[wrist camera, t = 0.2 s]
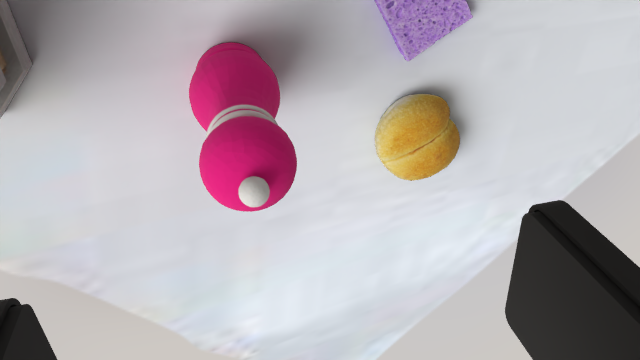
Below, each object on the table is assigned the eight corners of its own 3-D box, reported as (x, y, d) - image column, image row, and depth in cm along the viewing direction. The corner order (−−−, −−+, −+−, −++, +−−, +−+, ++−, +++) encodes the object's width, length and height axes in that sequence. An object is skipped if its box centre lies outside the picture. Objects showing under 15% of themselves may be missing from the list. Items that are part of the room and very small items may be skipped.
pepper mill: (193, 29, 43) (194, 135, 26) (278, 42, 45) (331, 148, 28) (185, 110, 46) (183, 249, 29) (265, 119, 48) (306, 253, 31)
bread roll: (432, 75, 50) (450, 90, 46) (460, 145, 55) (477, 163, 51) (357, 117, 50) (369, 135, 47) (391, 183, 55) (404, 203, 52)
